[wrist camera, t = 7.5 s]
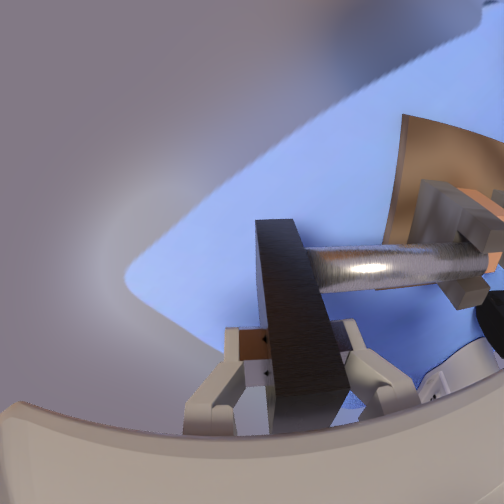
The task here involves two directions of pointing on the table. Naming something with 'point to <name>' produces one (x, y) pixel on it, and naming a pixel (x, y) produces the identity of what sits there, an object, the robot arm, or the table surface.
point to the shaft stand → (447, 196)
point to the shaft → (315, 315)
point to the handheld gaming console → (493, 320)
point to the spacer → (494, 209)
